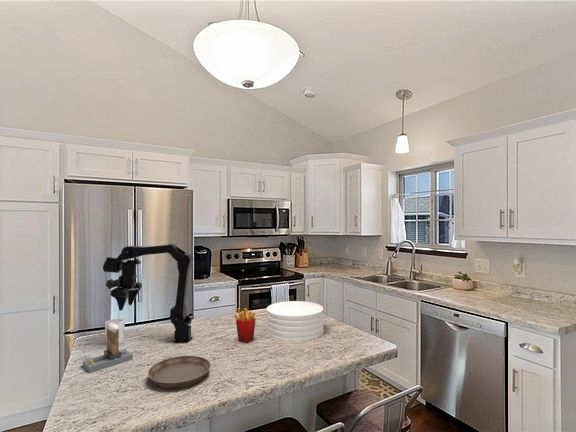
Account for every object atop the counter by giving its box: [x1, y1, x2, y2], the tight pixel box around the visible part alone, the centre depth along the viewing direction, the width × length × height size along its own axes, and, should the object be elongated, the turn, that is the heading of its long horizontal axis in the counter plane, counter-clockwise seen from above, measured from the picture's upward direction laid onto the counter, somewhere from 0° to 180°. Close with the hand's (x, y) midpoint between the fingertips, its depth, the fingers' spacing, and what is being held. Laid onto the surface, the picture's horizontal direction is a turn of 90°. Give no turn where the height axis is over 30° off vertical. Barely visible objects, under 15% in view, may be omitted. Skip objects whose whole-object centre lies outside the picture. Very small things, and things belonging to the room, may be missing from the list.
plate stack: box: [266, 300, 325, 342], centre depth 157 cm, size 28×28×12 cm
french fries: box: [233, 307, 257, 344], centre depth 143 cm, size 9×8×15 cm
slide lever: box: [103, 322, 121, 360], centre depth 123 cm, size 4×7×12 cm, turn 47°
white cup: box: [104, 318, 126, 346], centre depth 143 cm, size 8×8×10 cm
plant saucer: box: [147, 355, 212, 389], centre depth 110 cm, size 21×21×3 cm
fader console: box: [82, 349, 134, 374], centre depth 122 cm, size 15×8×2 cm, turn 137°
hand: (125, 307), depth 144 cm, fingers open, 9 cm apart
